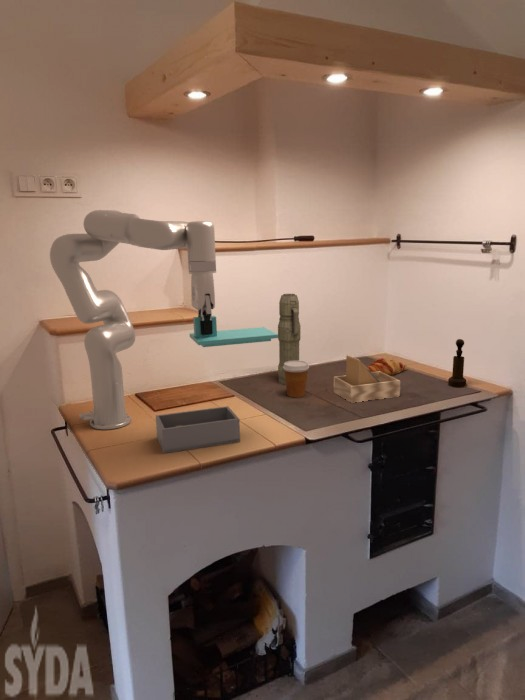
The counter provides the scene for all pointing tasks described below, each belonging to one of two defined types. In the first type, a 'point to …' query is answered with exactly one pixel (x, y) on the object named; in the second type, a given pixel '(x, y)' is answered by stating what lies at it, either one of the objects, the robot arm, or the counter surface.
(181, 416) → the tub
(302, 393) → the disposable coffee cup
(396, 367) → the croissant
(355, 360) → the sandwich container
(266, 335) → the lid
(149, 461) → the counter surface
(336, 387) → the open rectangular storage box
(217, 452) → the counter surface
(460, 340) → the dark brown tall piece
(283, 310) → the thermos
